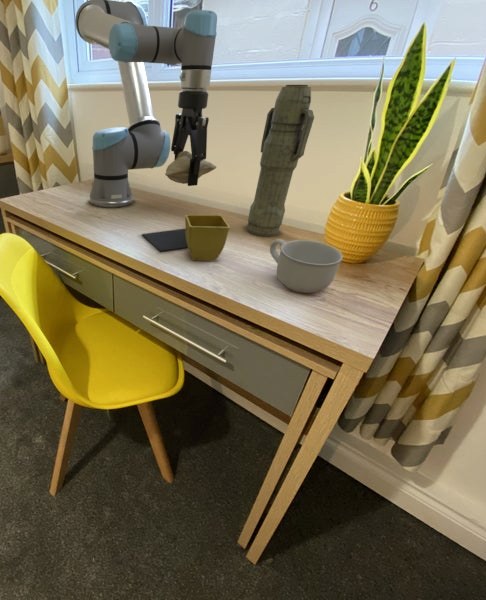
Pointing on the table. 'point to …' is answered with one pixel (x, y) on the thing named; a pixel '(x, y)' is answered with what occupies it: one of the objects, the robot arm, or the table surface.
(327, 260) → the teacup
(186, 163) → the seashell
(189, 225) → the flower pot
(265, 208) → the thermos
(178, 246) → the mat
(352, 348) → the table surface
